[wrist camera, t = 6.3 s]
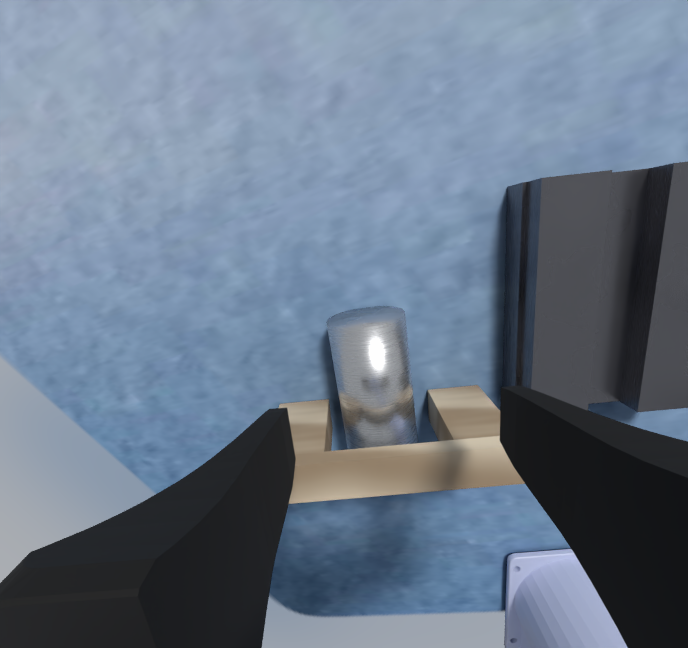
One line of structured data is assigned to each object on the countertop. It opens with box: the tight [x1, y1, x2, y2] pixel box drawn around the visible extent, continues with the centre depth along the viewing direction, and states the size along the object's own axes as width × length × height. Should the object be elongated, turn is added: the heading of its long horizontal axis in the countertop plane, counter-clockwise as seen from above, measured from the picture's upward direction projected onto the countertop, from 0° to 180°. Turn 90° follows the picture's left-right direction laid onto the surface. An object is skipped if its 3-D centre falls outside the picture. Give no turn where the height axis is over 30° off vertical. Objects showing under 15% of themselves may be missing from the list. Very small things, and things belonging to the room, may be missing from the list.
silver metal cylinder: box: [326, 306, 418, 449], centre depth 18 cm, size 8×4×4 cm, turn 8°
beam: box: [279, 385, 525, 504], centre depth 18 cm, size 2×12×6 cm, turn 96°
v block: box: [503, 162, 688, 412], centre depth 17 cm, size 12×9×3 cm
